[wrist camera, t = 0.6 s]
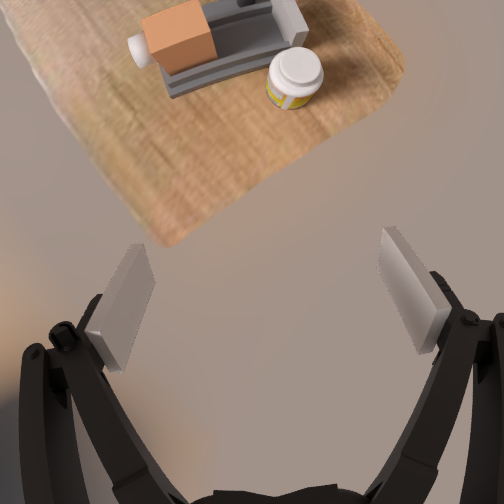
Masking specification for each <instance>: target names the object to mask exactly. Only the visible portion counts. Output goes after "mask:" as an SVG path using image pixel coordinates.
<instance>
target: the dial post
mask: <svg viewBox="0 0 504 504" xmlns="http://www.w3.org/2000/svg"><path fill="white" fill-rule="evenodd" d="M255 2H256V0H237V5H238V6H239V7H240V8H242V7H246V6H250V5H254V4H255Z"/></svg>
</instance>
